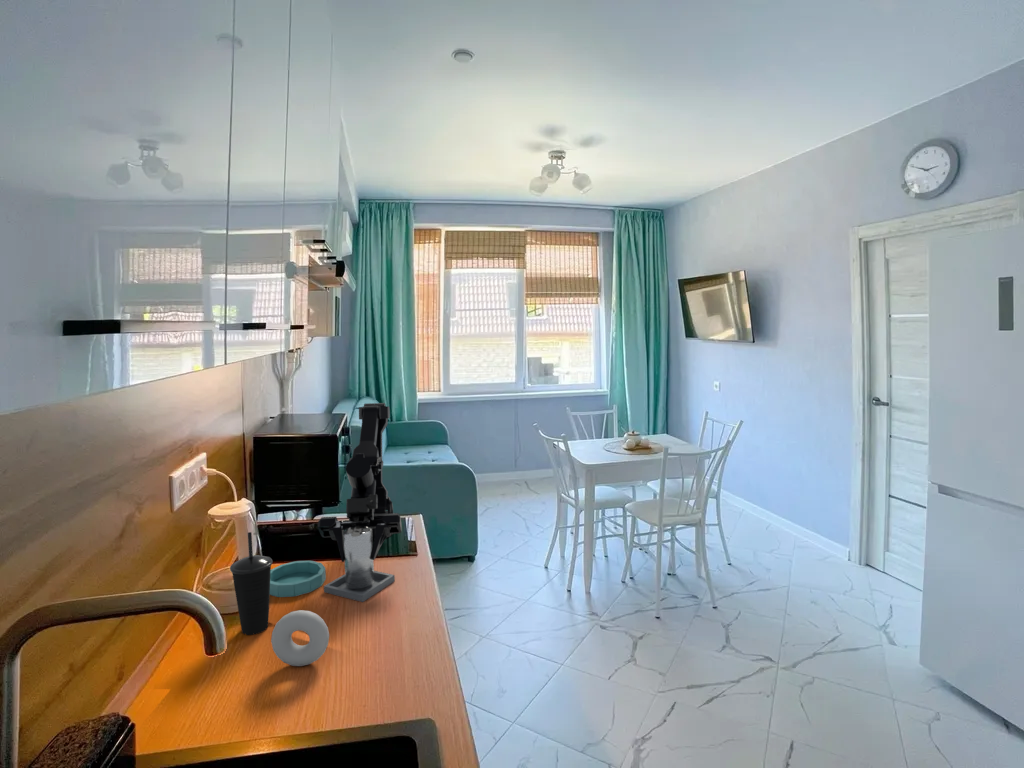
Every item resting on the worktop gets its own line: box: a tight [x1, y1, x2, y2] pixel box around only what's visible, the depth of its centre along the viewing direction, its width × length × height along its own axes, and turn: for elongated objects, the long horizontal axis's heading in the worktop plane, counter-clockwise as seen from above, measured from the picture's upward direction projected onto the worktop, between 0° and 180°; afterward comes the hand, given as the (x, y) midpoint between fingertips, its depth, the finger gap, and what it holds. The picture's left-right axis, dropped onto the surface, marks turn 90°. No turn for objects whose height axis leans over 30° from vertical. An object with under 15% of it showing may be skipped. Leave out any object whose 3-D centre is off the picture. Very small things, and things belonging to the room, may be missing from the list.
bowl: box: [270, 560, 327, 598], centre depth 129 cm, size 13×13×4 cm
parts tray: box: [323, 570, 396, 603], centre depth 127 cm, size 11×11×2 cm
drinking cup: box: [229, 531, 273, 636], centre depth 110 cm, size 8×8×20 cm
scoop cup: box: [343, 526, 375, 588], centre depth 127 cm, size 6×6×13 cm
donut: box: [270, 609, 330, 667], centre depth 98 cm, size 10×4×10 cm, turn 94°
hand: (358, 560), depth 125 cm, fingers closed on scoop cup, 6 cm apart
